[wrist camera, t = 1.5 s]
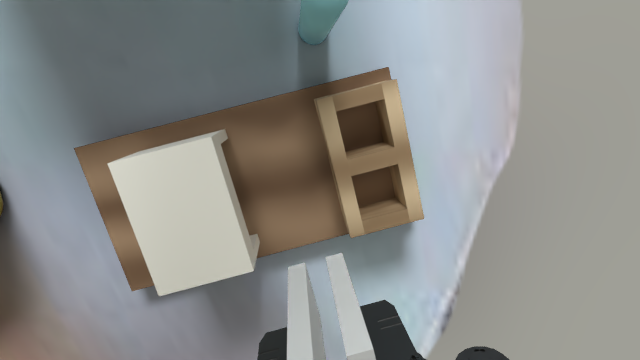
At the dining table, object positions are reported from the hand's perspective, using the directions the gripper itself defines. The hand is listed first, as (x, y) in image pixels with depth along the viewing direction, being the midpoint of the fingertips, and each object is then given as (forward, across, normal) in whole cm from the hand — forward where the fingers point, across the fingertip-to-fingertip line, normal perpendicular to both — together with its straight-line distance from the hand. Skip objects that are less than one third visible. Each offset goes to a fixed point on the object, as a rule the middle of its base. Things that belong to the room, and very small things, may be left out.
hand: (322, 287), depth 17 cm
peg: (+18, +4, +13) cm, 23 cm away
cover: (+16, -8, +2) cm, 18 cm away
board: (+18, -4, +2) cm, 19 cm away
